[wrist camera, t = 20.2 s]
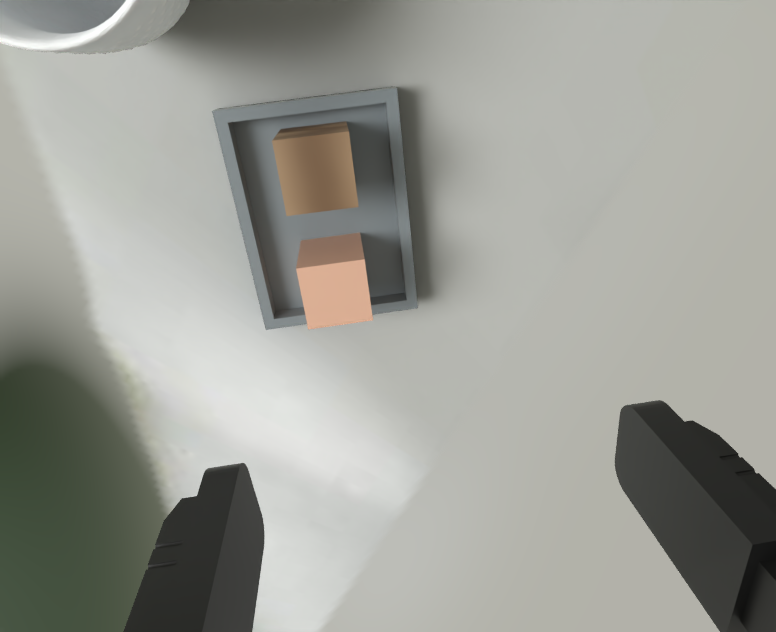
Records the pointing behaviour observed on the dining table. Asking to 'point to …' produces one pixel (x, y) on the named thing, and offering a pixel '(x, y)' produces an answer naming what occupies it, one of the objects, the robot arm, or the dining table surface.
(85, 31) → the mug
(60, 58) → the dining table surface
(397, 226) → the tray
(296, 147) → the block
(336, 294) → the block
